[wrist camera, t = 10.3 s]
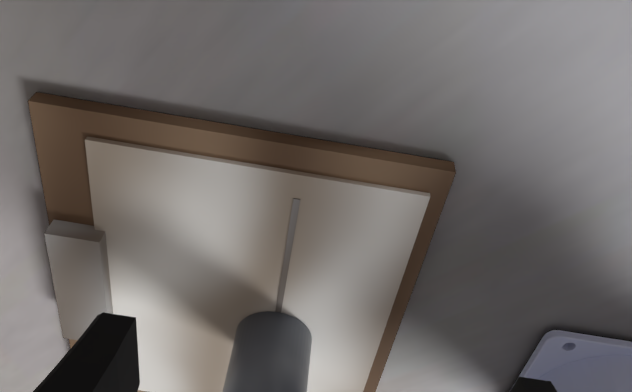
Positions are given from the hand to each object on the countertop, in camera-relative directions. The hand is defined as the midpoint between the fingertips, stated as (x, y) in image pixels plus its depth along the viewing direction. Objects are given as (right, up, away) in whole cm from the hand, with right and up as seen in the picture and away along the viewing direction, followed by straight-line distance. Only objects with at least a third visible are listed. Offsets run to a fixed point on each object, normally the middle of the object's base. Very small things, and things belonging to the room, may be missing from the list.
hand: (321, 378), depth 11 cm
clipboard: (-4, 0, +13) cm, 14 cm away
